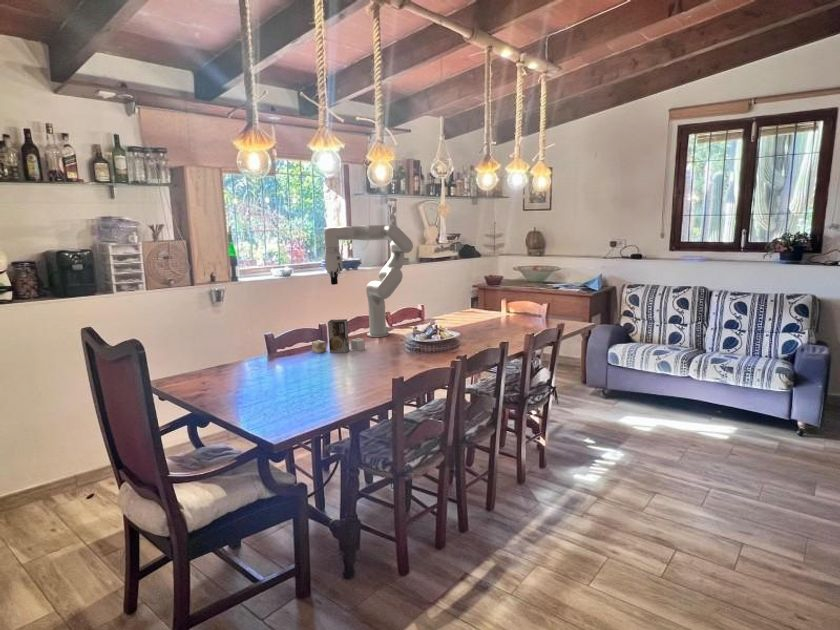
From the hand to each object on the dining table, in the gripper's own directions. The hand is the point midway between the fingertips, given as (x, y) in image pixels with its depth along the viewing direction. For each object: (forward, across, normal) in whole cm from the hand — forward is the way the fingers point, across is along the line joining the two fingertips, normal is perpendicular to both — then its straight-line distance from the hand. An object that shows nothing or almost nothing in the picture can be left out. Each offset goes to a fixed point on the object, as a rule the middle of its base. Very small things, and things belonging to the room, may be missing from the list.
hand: (334, 284), depth 291 cm
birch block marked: (+32, -10, +19) cm, 39 cm away
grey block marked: (+32, -22, +3) cm, 39 cm away
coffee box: (+32, -18, +12) cm, 39 cm away
